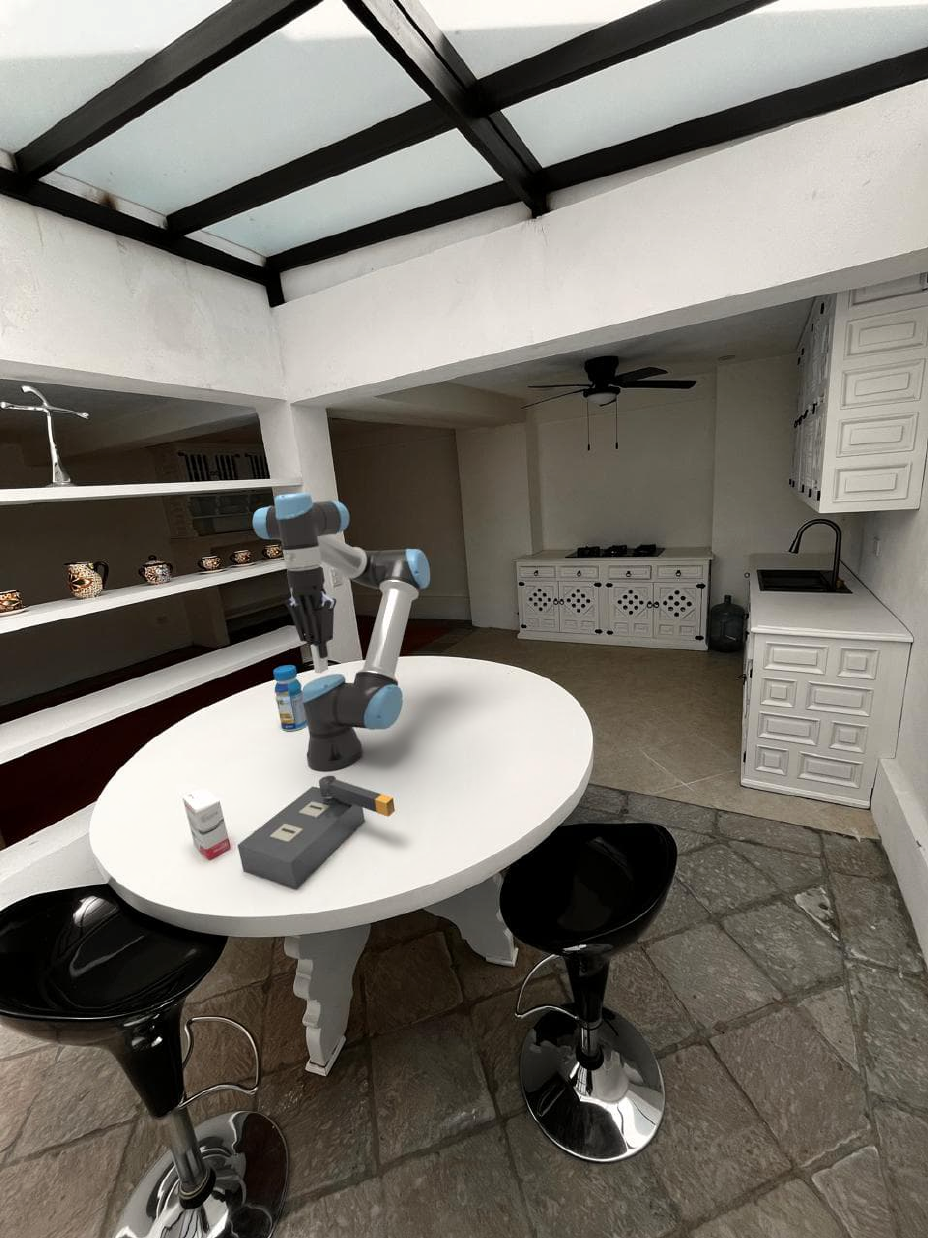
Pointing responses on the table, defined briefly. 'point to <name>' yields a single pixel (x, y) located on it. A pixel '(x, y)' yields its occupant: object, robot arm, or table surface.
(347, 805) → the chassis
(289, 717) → the beverage bottle
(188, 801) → the ink box
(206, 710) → the table surface
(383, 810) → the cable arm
